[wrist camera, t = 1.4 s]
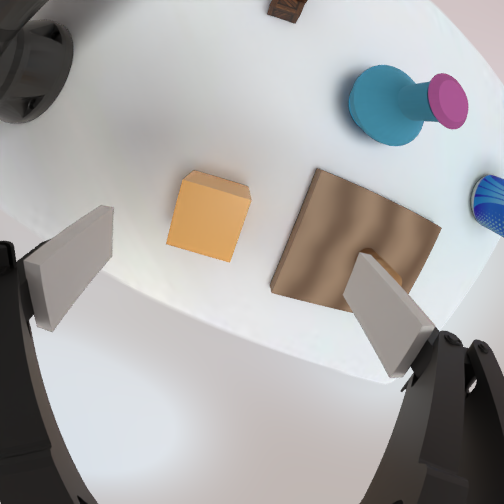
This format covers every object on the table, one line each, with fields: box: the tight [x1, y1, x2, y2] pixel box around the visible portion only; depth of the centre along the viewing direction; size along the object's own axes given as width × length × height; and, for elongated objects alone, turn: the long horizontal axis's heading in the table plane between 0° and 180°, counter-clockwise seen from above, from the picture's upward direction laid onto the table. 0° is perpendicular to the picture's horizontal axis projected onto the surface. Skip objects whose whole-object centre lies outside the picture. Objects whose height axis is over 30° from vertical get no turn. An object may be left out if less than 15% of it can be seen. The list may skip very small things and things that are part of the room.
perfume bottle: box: [348, 65, 468, 146], centre depth 22 cm, size 9×9×15 cm
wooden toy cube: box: [166, 170, 251, 262], centre depth 29 cm, size 6×6×7 cm
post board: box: [270, 168, 442, 313], centre depth 32 cm, size 20×16×9 cm
